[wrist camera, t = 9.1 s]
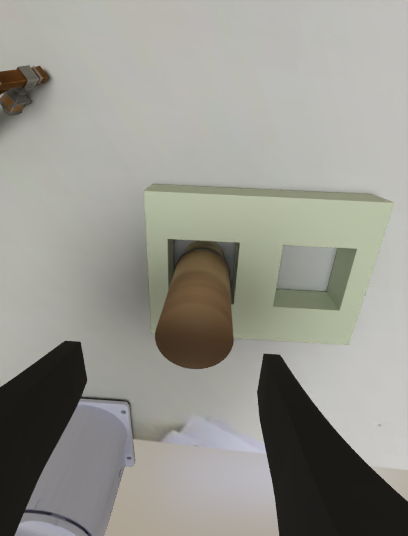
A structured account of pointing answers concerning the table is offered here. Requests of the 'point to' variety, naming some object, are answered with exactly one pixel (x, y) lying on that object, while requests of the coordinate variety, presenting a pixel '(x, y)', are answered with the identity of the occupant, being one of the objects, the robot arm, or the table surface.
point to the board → (271, 253)
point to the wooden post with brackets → (19, 87)
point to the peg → (197, 309)
